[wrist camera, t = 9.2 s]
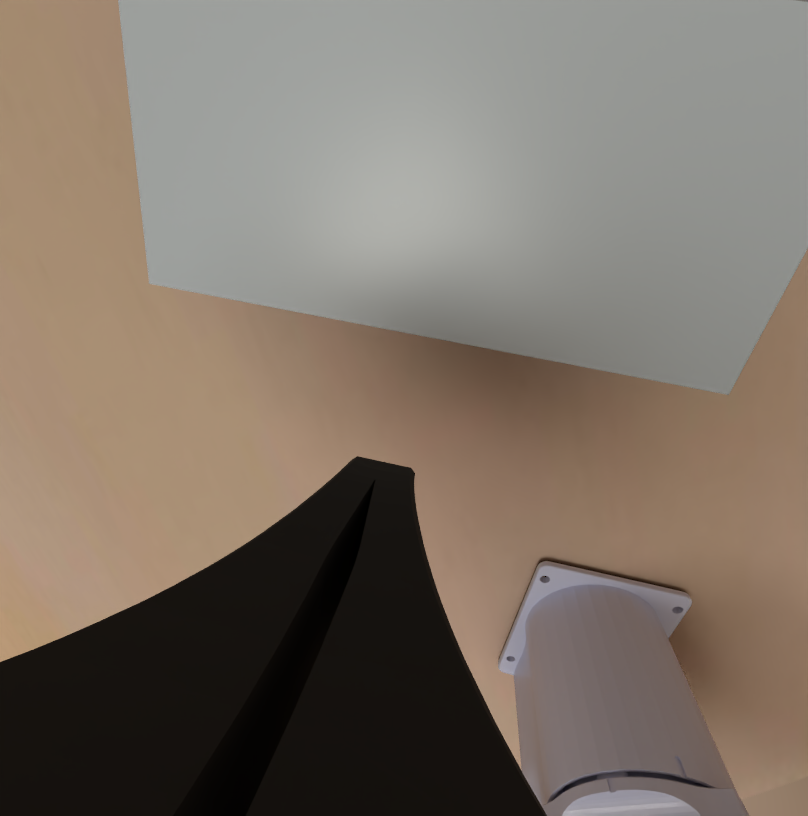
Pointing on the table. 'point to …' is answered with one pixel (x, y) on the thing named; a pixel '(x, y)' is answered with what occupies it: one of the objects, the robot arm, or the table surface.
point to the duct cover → (483, 168)
